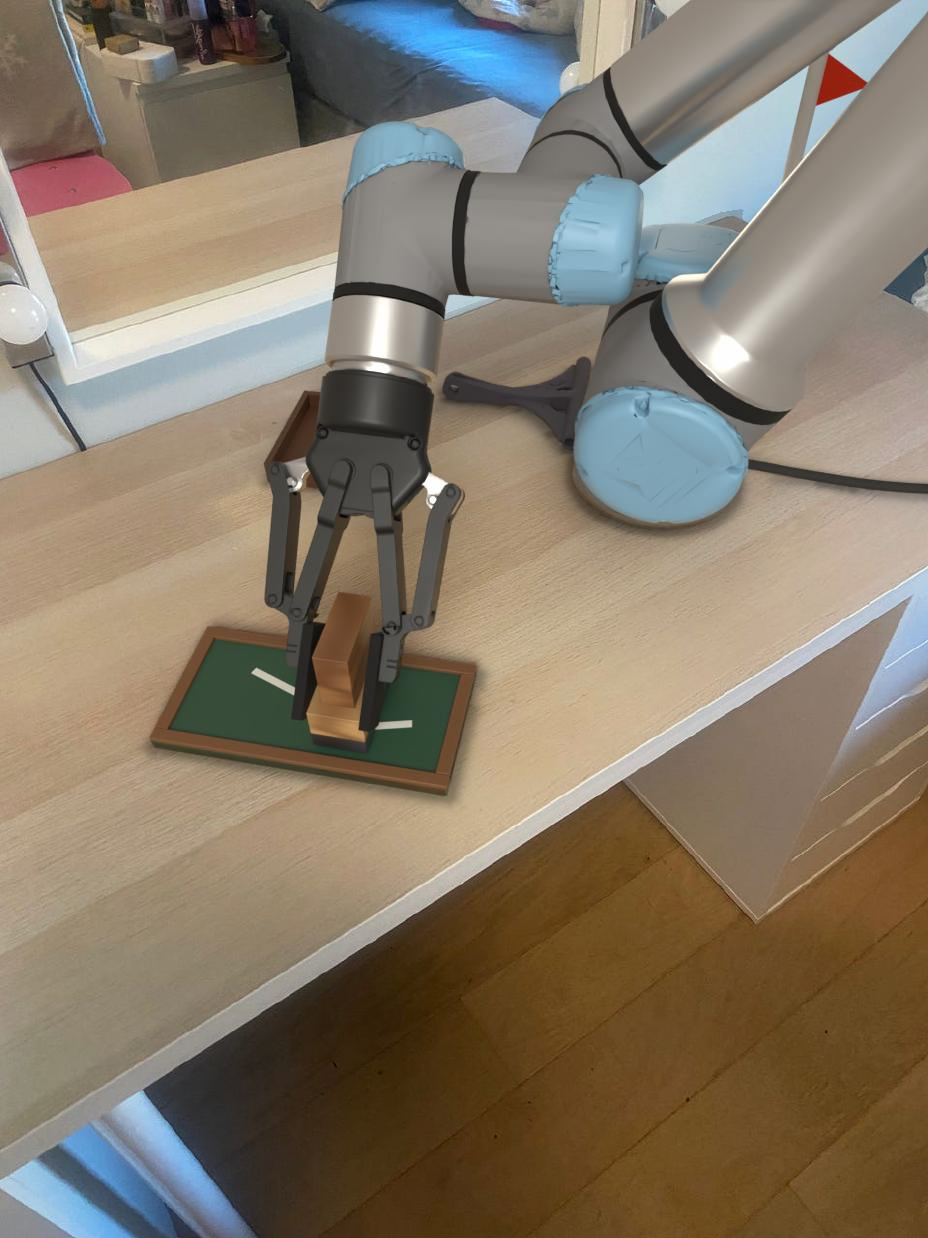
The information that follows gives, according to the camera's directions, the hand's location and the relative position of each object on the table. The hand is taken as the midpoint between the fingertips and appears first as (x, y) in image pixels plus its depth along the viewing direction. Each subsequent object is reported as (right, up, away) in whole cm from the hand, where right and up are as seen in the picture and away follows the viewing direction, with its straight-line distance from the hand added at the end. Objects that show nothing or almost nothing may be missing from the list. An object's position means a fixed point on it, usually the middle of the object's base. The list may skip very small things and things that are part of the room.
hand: (335, 721), depth 61 cm
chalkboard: (-2, 0, +6) cm, 7 cm away
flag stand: (+43, +42, +43) cm, 73 cm away
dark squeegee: (+14, +30, +33) cm, 46 cm away
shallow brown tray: (-5, +24, +28) cm, 37 cm away
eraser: (+1, +1, +5) cm, 5 cm away
